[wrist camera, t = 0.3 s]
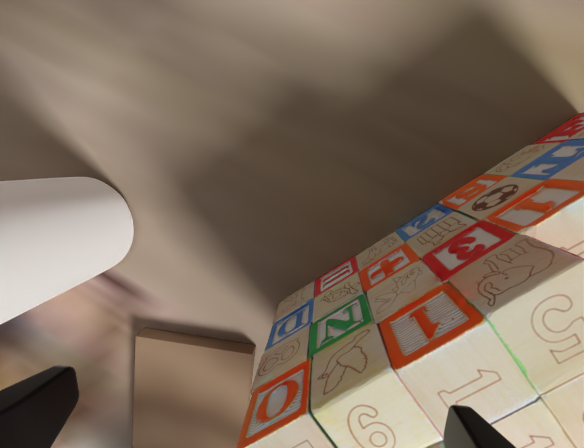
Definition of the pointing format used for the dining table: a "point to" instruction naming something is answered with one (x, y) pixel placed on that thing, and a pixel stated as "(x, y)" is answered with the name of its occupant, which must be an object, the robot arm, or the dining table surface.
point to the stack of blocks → (443, 321)
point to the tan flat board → (189, 390)
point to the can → (57, 237)
